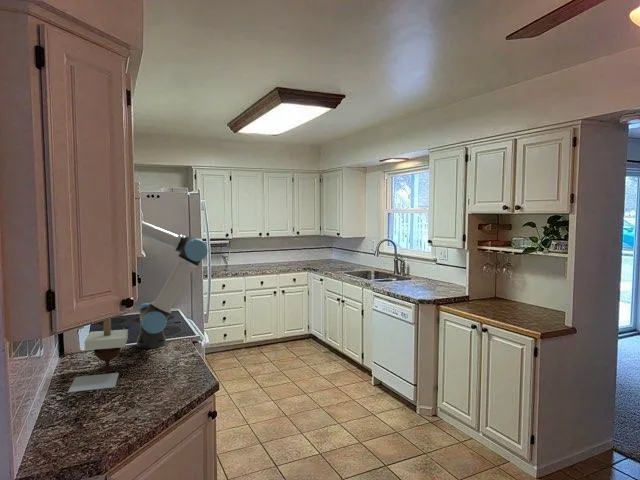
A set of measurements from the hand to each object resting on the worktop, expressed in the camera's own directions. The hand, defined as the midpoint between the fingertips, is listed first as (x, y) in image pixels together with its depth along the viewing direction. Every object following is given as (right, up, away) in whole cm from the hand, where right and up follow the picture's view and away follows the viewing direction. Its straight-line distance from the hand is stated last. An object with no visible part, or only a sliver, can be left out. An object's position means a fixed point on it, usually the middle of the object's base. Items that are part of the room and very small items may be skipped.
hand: (99, 283), depth 210 cm
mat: (+14, -39, -31) cm, 52 cm away
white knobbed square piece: (+11, -26, -15) cm, 32 cm away
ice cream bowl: (+11, -38, -14) cm, 43 cm away
